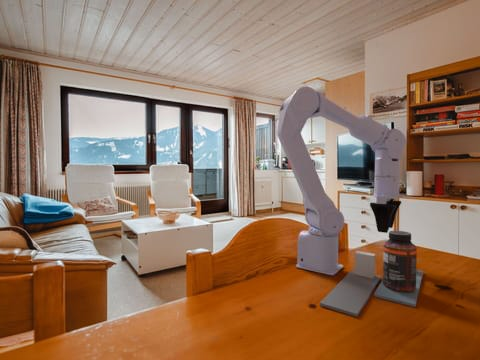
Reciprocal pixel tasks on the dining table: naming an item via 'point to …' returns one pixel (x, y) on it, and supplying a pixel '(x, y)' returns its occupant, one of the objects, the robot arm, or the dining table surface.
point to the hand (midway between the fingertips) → (385, 229)
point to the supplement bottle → (399, 262)
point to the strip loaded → (398, 296)
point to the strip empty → (354, 286)
